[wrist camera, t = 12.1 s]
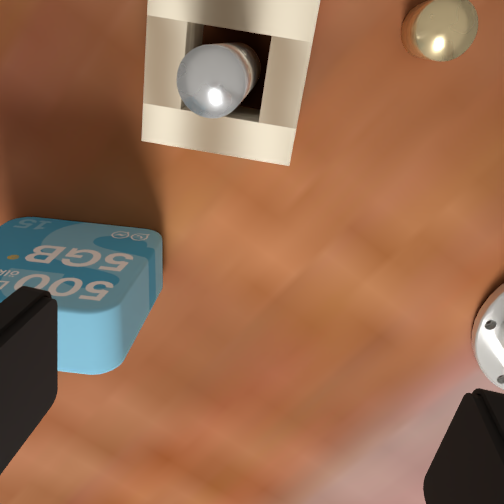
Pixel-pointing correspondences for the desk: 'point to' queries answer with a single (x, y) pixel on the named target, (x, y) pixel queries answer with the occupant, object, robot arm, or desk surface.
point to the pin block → (241, 118)
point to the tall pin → (217, 77)
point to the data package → (86, 283)
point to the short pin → (439, 29)
